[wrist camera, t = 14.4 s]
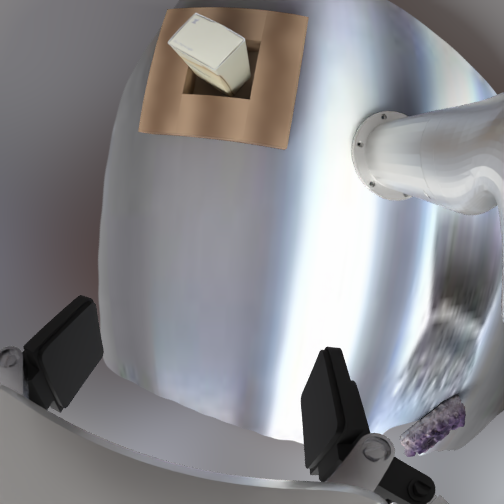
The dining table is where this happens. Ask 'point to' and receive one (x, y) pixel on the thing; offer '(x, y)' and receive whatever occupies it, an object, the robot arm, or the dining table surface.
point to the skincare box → (213, 53)
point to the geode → (434, 426)
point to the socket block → (214, 101)
